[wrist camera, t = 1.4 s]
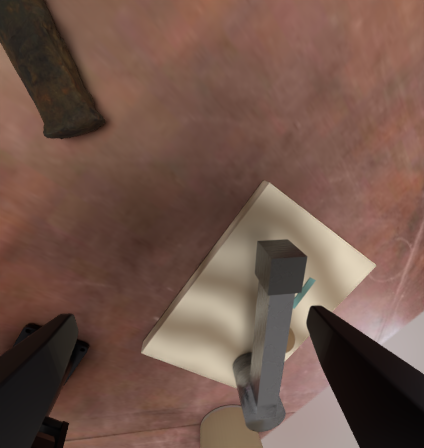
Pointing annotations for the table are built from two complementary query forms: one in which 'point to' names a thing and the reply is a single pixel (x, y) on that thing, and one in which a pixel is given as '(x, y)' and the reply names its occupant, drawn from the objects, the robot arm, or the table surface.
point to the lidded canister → (227, 429)
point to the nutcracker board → (251, 287)
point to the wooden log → (46, 69)
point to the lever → (269, 333)
